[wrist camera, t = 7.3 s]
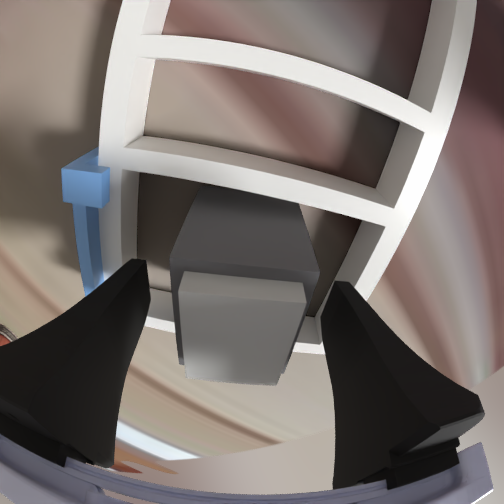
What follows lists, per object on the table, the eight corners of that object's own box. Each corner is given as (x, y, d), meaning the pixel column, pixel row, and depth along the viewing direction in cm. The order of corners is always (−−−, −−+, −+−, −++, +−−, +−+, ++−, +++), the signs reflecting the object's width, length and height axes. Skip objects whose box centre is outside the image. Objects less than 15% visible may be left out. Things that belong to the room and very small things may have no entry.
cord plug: (295, 196, 12) (325, 292, 7) (276, 286, 15) (285, 391, 10) (200, 185, 12) (161, 276, 7) (198, 278, 14) (175, 381, 9)
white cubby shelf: (453, -20, 5) (501, -31, 2) (324, 328, 16) (335, 378, 13) (175, -99, 4) (153, -137, 1) (112, 289, 15) (89, 336, 12)
